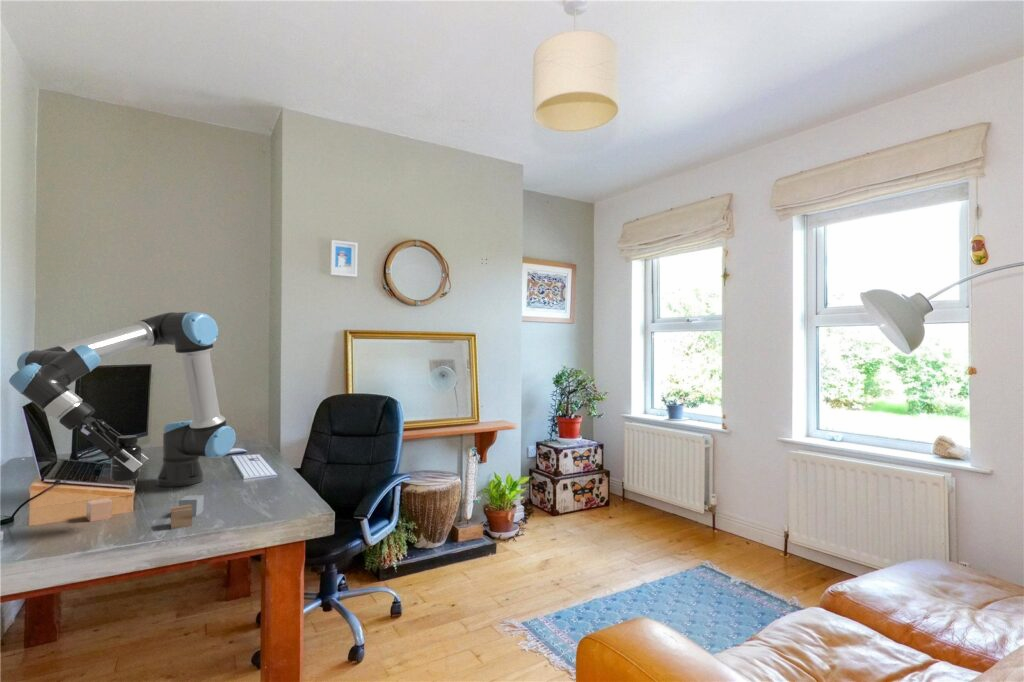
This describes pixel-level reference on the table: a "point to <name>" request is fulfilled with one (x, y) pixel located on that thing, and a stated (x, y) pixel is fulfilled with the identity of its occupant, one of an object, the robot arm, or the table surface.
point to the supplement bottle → (117, 468)
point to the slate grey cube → (193, 503)
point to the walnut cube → (181, 516)
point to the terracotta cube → (99, 509)
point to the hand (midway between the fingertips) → (141, 465)
